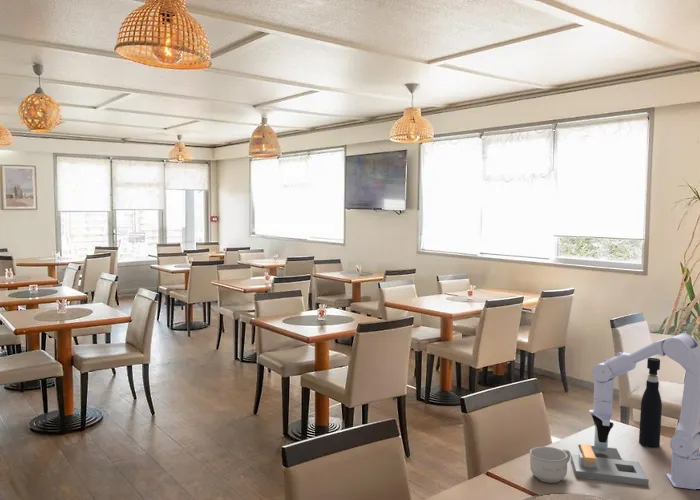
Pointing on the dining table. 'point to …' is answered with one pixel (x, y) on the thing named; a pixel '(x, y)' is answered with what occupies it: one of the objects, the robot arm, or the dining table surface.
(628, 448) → the dining table surface
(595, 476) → the housing
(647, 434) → the black bottle
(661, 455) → the dining table surface
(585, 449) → the plunger
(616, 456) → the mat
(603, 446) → the cylinder
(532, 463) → the teacup
